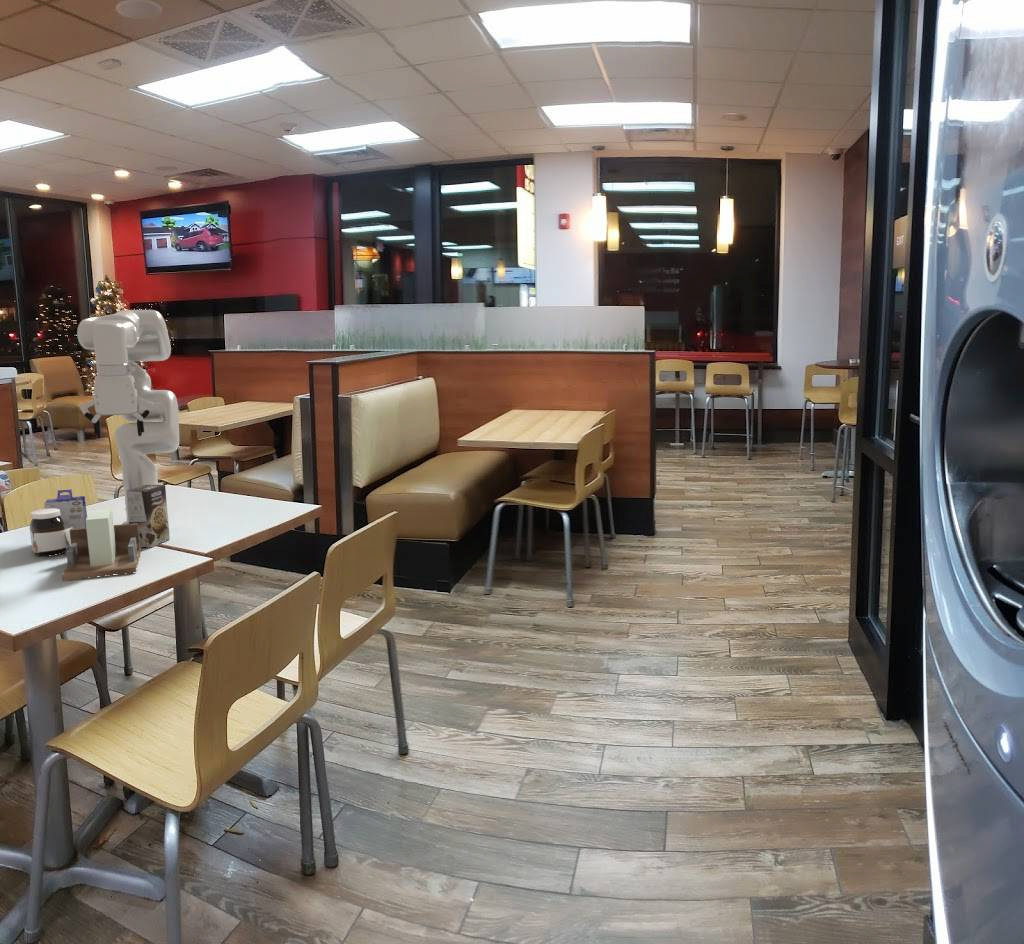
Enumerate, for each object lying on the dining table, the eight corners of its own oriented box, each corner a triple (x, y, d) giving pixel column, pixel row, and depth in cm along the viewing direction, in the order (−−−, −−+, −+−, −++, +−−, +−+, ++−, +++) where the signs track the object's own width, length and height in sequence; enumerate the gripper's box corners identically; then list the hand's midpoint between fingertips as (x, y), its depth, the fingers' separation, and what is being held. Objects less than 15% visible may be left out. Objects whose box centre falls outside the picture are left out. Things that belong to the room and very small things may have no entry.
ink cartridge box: (90, 536, 234) (84, 487, 231) (88, 541, 229) (82, 491, 226) (51, 539, 230) (45, 490, 228) (48, 544, 225) (42, 494, 223)
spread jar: (29, 552, 219) (24, 510, 216) (74, 543, 226) (69, 503, 224) (42, 561, 210) (36, 518, 208) (88, 552, 218) (83, 510, 216)
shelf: (74, 560, 211) (70, 528, 209) (140, 553, 216) (137, 523, 215) (63, 580, 194) (59, 547, 193) (135, 573, 200) (132, 540, 198)
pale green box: (95, 555, 210) (90, 510, 207) (116, 553, 211) (112, 509, 209) (90, 566, 201) (85, 519, 198) (112, 564, 202) (107, 518, 200)
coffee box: (151, 548, 221) (145, 491, 218) (130, 547, 222) (124, 490, 219) (171, 539, 230) (166, 484, 227) (151, 538, 231) (146, 483, 228)
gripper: (150, 368, 214) (156, 432, 218) (78, 370, 208) (85, 435, 212) (148, 371, 207) (154, 436, 211) (73, 373, 201) (81, 440, 205)
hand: (120, 436), depth 211 cm, fingers open, 9 cm apart
